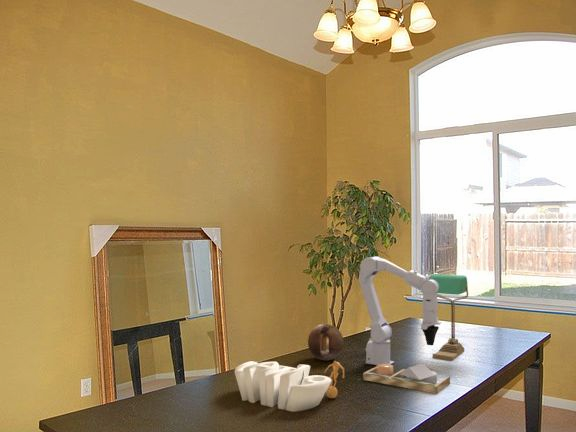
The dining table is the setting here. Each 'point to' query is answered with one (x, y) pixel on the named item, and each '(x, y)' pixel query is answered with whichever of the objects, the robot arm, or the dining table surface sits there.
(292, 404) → the white wavy slab sculpture
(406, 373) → the wedge on round base
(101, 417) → the dining table surface
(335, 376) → the figurine
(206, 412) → the dining table surface
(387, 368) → the tan smooth rounded piece
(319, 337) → the wooden sphere
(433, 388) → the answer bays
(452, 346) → the banker's lamp
